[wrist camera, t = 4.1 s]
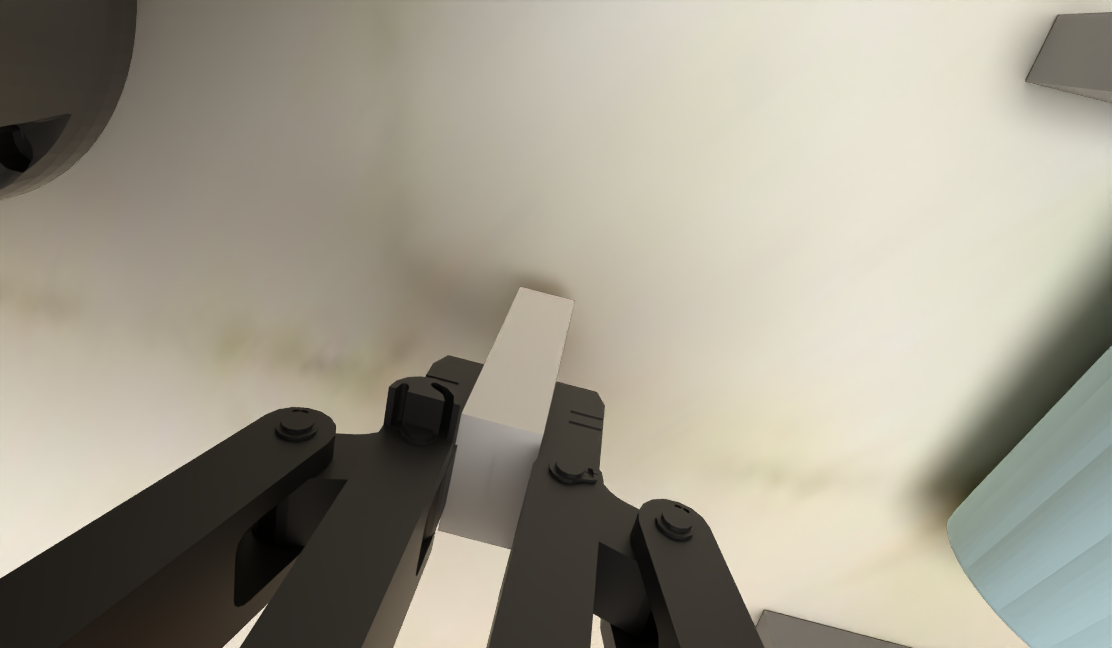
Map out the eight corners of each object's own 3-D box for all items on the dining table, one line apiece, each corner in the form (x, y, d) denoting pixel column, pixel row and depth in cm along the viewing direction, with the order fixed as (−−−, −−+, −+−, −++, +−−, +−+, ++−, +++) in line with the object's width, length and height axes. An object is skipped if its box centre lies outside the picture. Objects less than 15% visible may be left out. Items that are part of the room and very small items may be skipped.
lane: (750, 639, 24) (769, 747, 21) (1058, 14, 16) (1187, 8, 12) (1074, 724, 24) (1152, 847, 20) (1564, 141, 15) (1852, 174, 12)
